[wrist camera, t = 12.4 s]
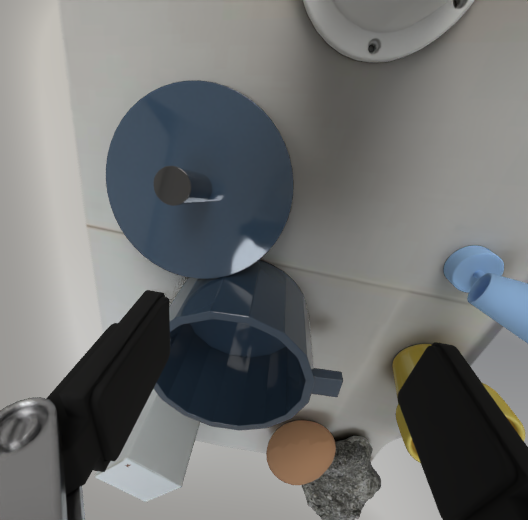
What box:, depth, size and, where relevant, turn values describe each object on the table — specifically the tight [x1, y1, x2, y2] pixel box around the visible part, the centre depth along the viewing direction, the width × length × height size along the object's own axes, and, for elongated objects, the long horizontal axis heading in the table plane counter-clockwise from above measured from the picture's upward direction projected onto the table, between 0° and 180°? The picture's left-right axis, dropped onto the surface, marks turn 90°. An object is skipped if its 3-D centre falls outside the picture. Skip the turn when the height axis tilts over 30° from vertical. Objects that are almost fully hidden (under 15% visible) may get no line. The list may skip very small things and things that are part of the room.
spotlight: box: [444, 245, 528, 343], centre depth 23 cm, size 5×10×7 cm
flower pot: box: [392, 344, 525, 463], centre depth 29 cm, size 10×10×10 cm
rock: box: [302, 436, 381, 520], centre depth 43 cm, size 13×13×10 cm
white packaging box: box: [95, 389, 200, 502], centre depth 35 cm, size 7×7×13 cm
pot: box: [153, 260, 343, 430], centre depth 28 cm, size 16×21×10 cm
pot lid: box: [106, 81, 293, 279], centre depth 21 cm, size 17×17×7 cm
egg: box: [266, 420, 336, 485], centre depth 39 cm, size 8×8×11 cm
